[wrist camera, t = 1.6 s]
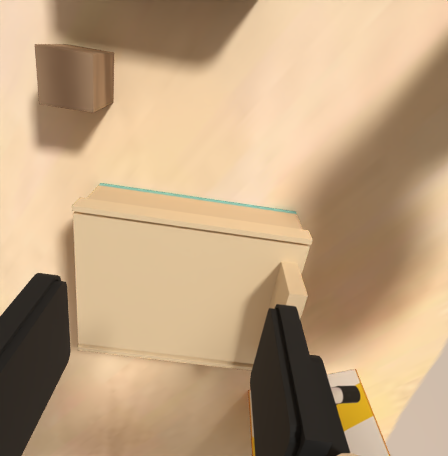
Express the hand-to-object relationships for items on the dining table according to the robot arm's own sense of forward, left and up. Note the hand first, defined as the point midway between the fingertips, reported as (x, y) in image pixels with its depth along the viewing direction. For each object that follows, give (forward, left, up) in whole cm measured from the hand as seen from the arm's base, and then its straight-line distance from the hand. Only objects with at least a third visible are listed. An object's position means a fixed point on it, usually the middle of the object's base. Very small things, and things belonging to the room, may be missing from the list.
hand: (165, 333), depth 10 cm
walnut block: (+12, -3, -30) cm, 32 cm away
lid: (0, +16, -23) cm, 28 cm away
